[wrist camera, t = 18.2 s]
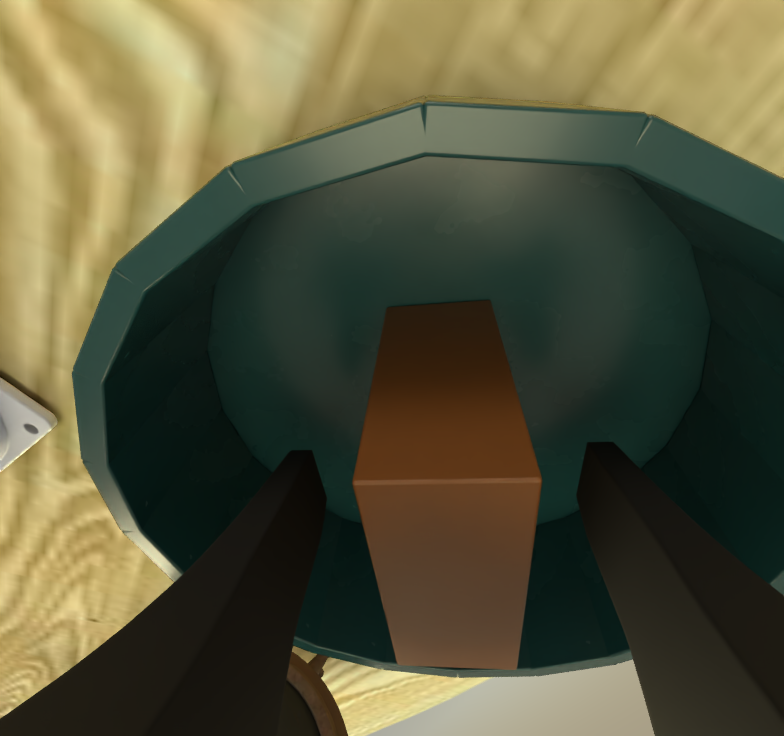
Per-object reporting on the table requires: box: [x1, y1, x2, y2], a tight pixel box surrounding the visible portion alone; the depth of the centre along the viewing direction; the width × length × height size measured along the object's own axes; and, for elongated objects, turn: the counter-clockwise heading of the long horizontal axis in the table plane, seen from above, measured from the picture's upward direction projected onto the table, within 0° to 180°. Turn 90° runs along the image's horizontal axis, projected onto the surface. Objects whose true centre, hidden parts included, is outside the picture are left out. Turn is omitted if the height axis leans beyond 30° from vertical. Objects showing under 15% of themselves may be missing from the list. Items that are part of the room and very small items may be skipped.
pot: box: [72, 95, 784, 678], centre depth 12 cm, size 17×17×5 cm
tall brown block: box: [352, 300, 542, 670], centre depth 11 cm, size 3×7×6 cm, turn 6°
